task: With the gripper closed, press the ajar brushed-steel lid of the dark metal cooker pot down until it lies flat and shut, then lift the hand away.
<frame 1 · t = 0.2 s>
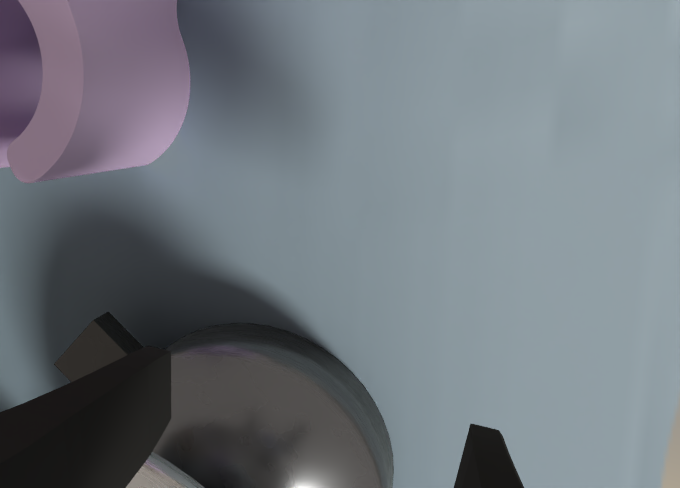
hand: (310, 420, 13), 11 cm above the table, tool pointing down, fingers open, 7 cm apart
cooker pot: (255, 453, 26), on the table
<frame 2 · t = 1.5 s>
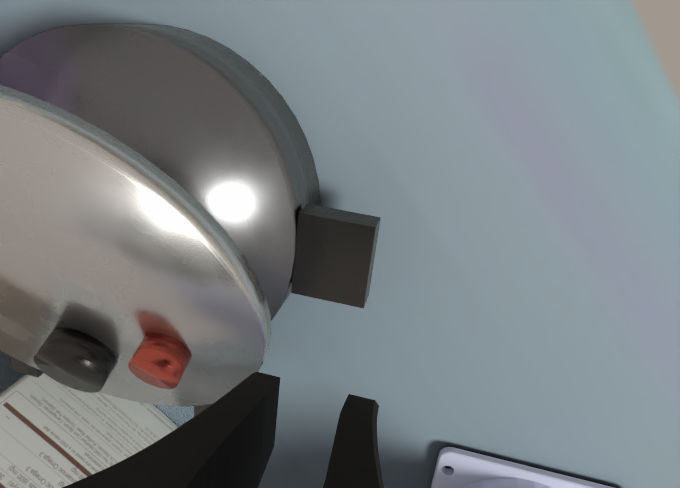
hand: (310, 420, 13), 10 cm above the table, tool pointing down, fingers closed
cooker pot: (168, 193, 23), on the table
supplement box: (100, 416, 29), on the table
cooker lid: (46, 292, 17), point 7 cm above the table, hinge at 25.0°
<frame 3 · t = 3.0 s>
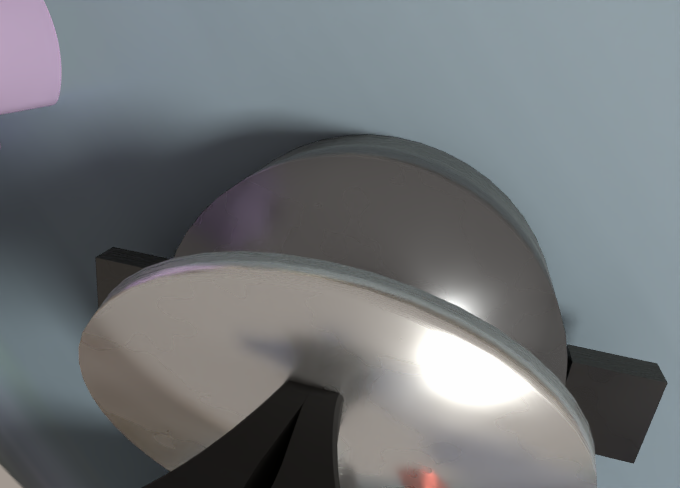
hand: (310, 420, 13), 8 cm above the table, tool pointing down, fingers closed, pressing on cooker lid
cooker pot: (368, 308, 21), on the table
cooker lid: (316, 458, 15), point 7 cm above the table, hinge at 22.9°, touching gripper
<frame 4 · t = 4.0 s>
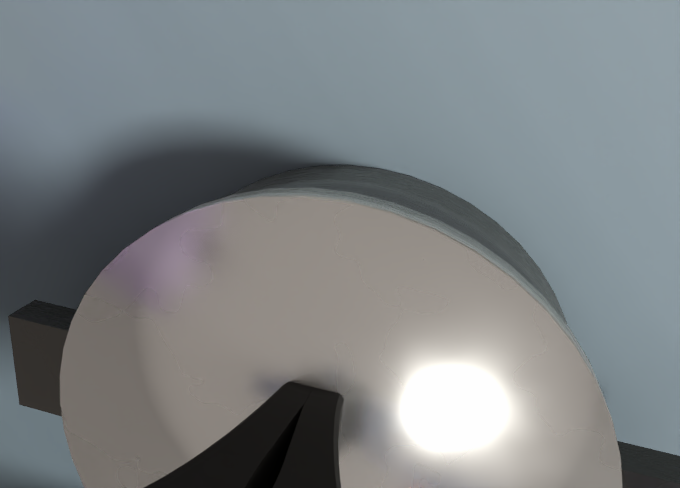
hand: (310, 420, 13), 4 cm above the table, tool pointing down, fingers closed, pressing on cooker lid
cooker pot: (349, 371, 17), on the table
cooker lid: (309, 475, 13), point 4 cm above the table, hinge at -0.5°, touching cooker pot, gripper
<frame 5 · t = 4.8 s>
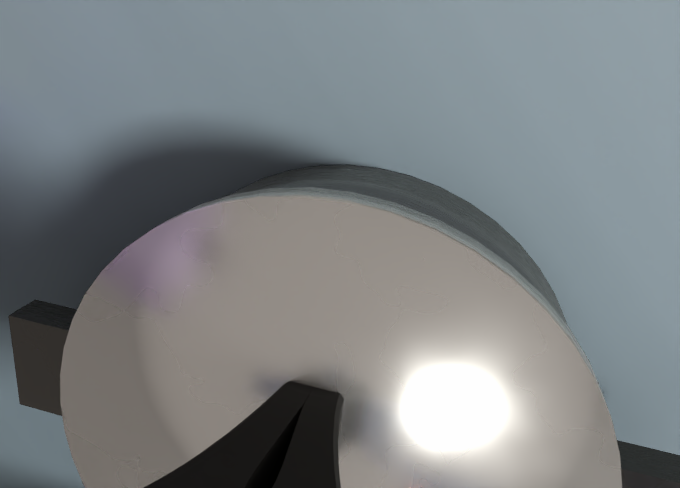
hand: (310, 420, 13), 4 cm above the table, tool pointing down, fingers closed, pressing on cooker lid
cooker pot: (349, 371, 17), on the table
cooker lid: (309, 475, 13), point 4 cm above the table, hinge at -0.5°, touching cooker pot, gripper
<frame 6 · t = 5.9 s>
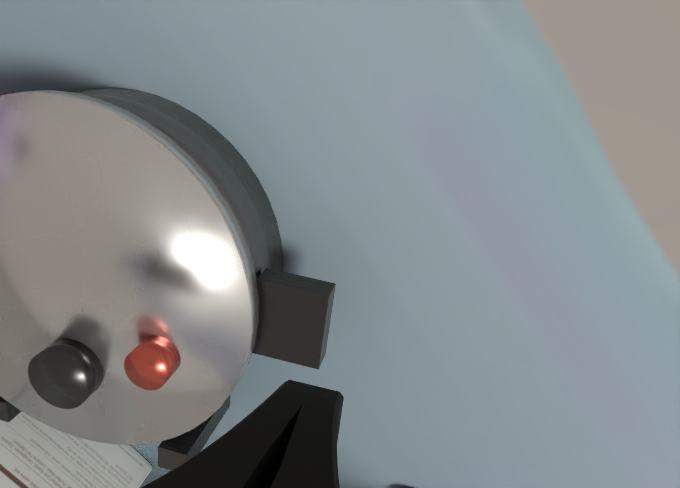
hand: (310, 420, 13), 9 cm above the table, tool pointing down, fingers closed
cooker pot: (137, 245, 24), on the table
supplement box: (73, 449, 30), on the table
cooker lid: (68, 290, 20), point 4 cm above the table, hinge at -0.5°, touching cooker pot
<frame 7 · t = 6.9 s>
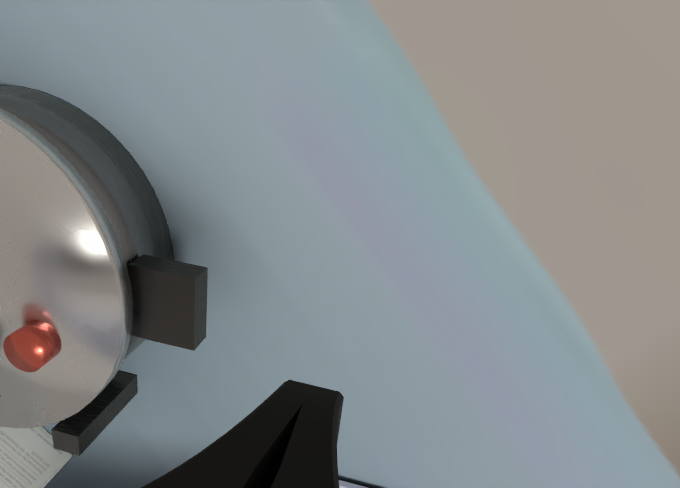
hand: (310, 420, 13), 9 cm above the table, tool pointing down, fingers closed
cooker pot: (38, 236, 25), on the table
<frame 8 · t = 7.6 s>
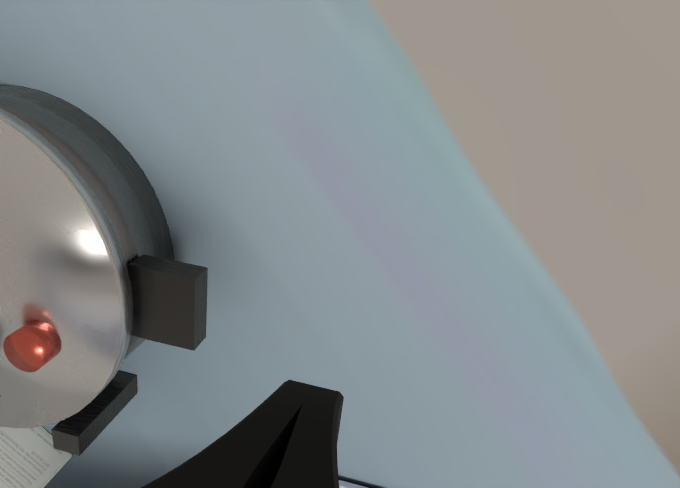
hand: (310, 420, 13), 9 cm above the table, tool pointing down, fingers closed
cooker pot: (38, 236, 25), on the table
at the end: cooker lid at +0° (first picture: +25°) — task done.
